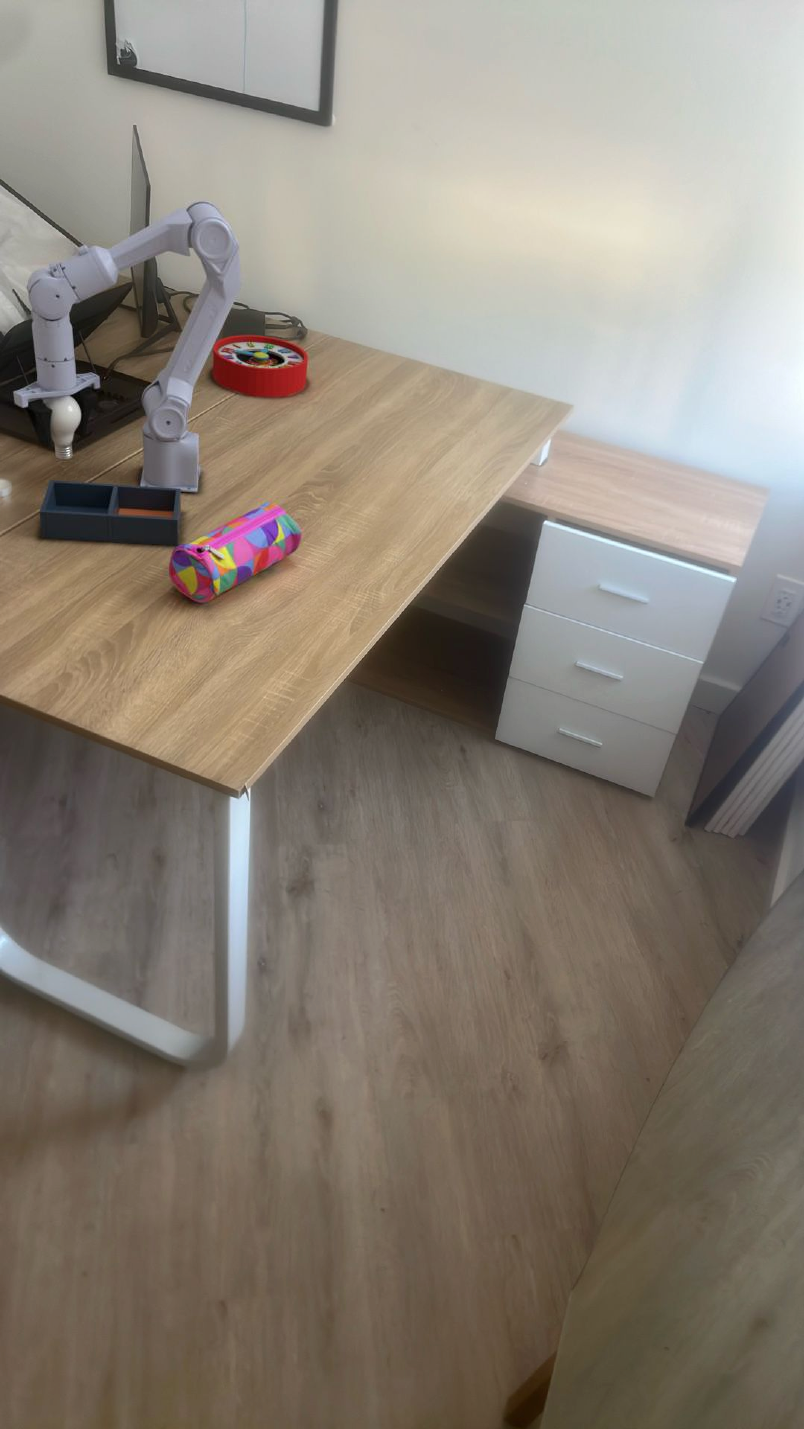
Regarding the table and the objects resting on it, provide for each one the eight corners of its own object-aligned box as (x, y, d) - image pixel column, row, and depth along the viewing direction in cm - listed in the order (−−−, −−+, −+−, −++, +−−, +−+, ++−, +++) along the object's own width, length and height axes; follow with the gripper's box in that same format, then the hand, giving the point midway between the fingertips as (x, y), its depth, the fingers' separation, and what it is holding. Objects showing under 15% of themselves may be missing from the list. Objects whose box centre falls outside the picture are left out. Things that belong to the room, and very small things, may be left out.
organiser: (180, 513, 156) (180, 488, 153) (177, 545, 148) (177, 520, 145) (52, 505, 152) (49, 479, 149) (42, 538, 144) (39, 511, 141)
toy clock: (296, 376, 194) (200, 358, 194) (294, 404, 197) (200, 386, 198) (316, 346, 209) (228, 329, 209) (314, 372, 213) (227, 355, 213)
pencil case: (212, 618, 134) (213, 563, 128) (162, 592, 137) (160, 538, 131) (303, 562, 149) (308, 510, 144) (256, 540, 152) (259, 489, 147)
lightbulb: (93, 458, 157) (88, 393, 150) (67, 471, 152) (60, 405, 146) (62, 447, 159) (55, 382, 152) (35, 459, 154) (27, 393, 147)
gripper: (77, 338, 151) (83, 420, 160) (-4, 356, 142) (8, 441, 150) (106, 352, 148) (111, 435, 157) (26, 371, 139) (36, 457, 147)
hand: (62, 439), depth 153 cm, fingers closed on lightbulb, 6 cm apart
